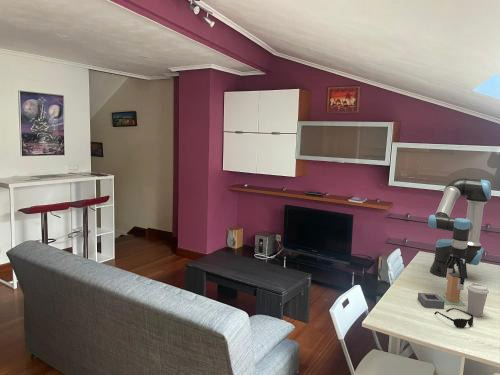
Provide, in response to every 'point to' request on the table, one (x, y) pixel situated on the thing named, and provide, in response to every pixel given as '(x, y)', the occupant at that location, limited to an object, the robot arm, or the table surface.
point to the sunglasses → (459, 322)
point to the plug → (453, 288)
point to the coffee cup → (476, 299)
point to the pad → (452, 302)
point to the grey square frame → (431, 300)
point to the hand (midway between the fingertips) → (454, 284)
